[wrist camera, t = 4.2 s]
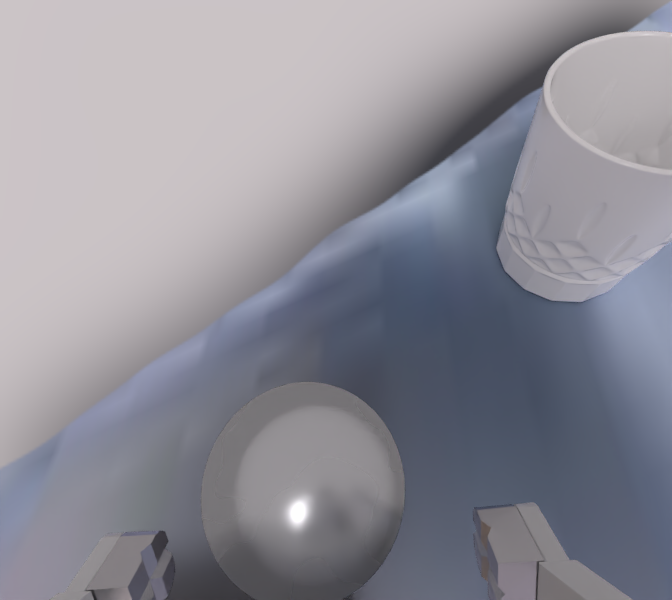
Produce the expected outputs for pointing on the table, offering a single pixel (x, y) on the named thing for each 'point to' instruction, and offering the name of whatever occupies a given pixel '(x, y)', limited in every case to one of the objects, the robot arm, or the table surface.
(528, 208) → the white cup
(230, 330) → the table surface
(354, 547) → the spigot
